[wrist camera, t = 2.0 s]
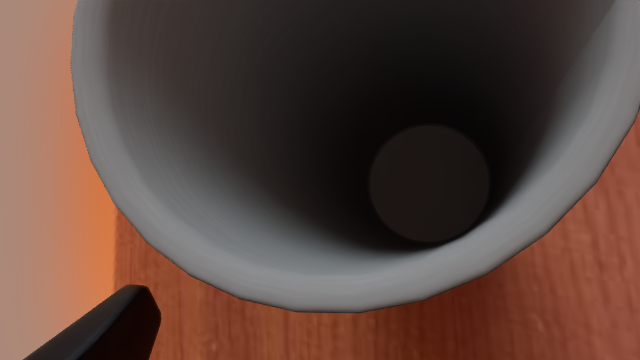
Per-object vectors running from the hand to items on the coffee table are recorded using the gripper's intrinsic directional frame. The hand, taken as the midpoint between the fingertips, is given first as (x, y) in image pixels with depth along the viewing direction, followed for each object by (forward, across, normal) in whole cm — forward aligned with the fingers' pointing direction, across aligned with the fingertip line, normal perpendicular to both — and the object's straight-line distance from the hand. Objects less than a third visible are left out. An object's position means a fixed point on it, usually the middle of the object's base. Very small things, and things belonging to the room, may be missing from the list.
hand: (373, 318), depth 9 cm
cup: (+10, 0, +5) cm, 12 cm away
